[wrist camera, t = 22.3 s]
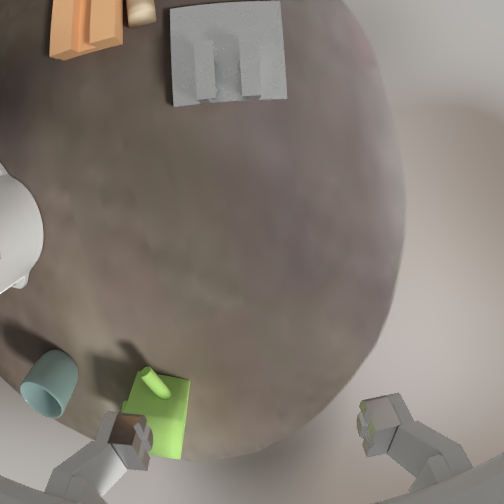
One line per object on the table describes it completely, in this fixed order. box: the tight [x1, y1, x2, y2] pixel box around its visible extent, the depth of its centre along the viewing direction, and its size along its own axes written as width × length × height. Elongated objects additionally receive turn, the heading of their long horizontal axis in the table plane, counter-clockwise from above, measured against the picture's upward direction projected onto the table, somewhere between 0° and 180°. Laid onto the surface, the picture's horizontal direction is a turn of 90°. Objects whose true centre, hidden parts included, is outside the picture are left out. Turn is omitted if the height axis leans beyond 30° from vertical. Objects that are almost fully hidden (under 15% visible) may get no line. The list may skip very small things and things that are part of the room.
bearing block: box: [170, 1, 287, 108], centre depth 28 cm, size 12×12×6 cm
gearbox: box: [122, 366, 190, 459], centre depth 43 cm, size 18×10×10 cm, turn 168°
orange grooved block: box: [50, 0, 123, 60], centre depth 26 cm, size 8×10×4 cm
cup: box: [20, 350, 79, 418], centre depth 40 cm, size 8×8×10 cm
